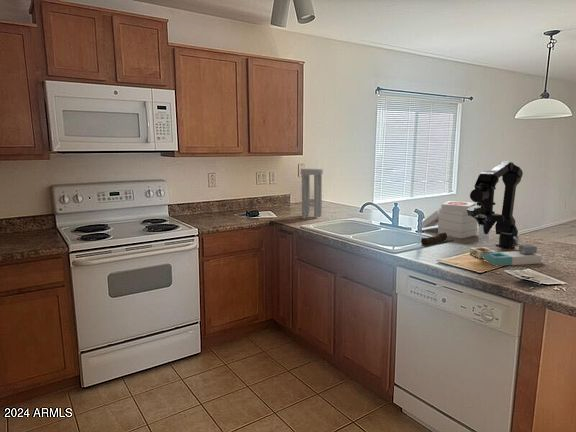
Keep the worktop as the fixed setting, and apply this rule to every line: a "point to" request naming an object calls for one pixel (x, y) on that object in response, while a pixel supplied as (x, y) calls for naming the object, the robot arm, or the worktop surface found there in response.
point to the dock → (512, 258)
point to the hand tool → (434, 239)
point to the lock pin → (483, 234)
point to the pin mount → (480, 251)
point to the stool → (306, 191)
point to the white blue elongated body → (514, 240)
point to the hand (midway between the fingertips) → (483, 233)
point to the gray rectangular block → (527, 249)
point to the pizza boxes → (453, 220)
